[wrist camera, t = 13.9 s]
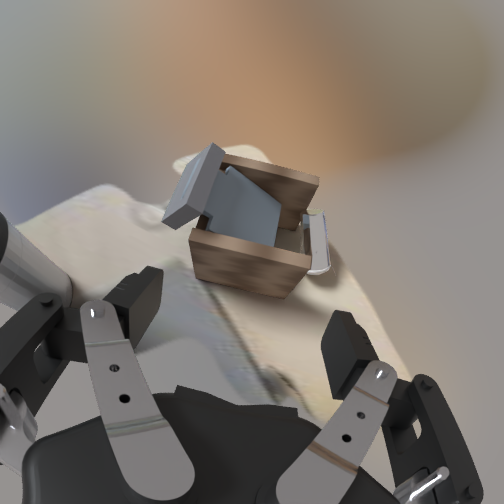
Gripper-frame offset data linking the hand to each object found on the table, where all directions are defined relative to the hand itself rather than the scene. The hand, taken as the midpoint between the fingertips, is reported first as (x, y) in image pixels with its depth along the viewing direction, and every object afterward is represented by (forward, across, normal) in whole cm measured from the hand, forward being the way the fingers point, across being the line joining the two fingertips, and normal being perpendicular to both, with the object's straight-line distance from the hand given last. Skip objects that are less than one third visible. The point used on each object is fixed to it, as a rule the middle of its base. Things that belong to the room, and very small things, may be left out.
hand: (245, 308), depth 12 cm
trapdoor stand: (+29, 0, +7) cm, 30 cm away
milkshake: (+26, -8, -1) cm, 28 cm away
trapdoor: (+24, +5, +2) cm, 25 cm away
